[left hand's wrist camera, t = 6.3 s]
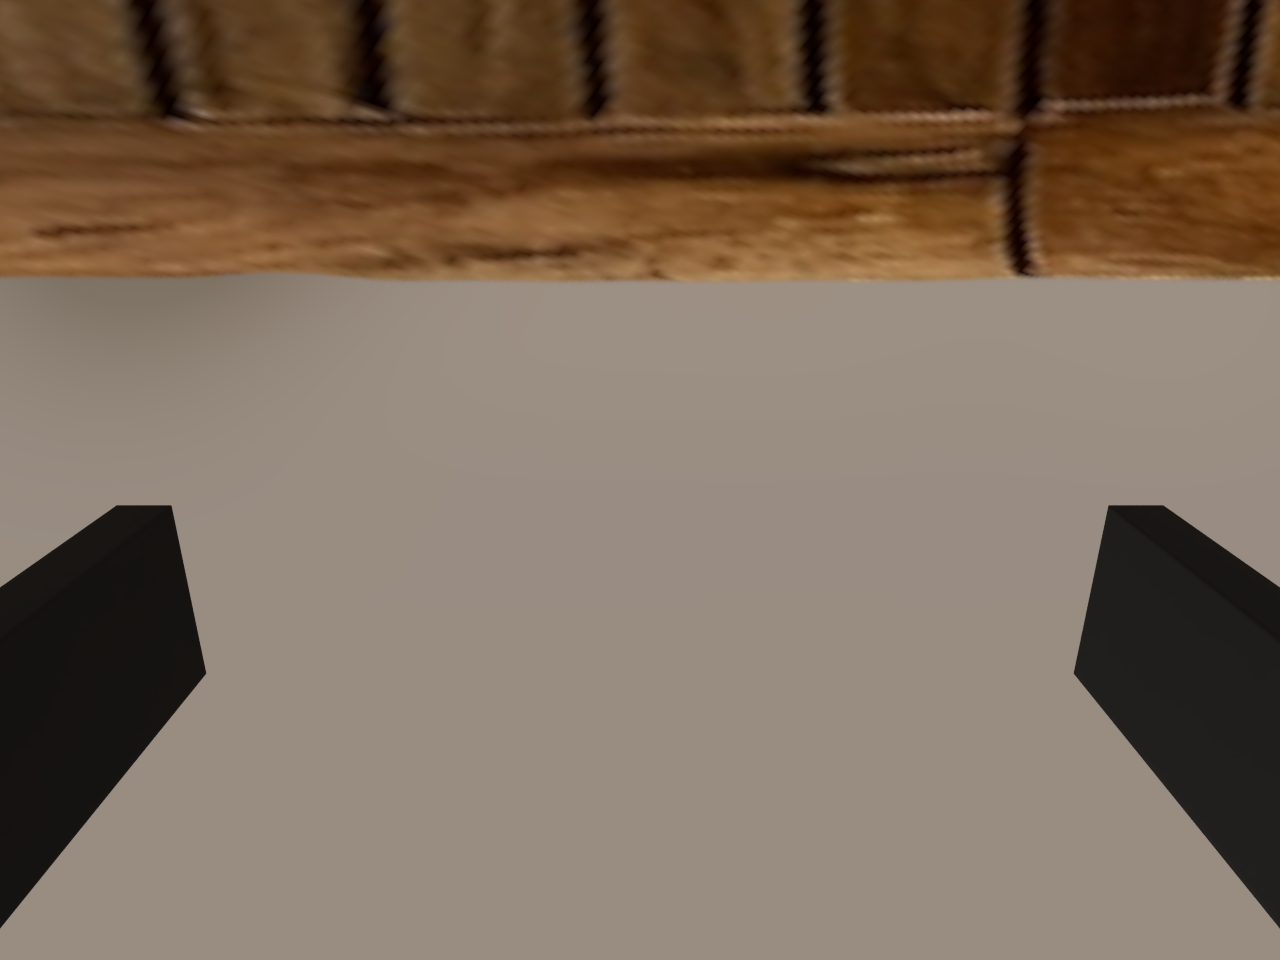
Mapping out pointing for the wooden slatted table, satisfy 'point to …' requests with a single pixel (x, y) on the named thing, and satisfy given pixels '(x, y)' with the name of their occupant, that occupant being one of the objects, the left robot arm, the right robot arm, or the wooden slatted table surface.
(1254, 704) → the left robot arm
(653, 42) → the wooden slatted table surface
